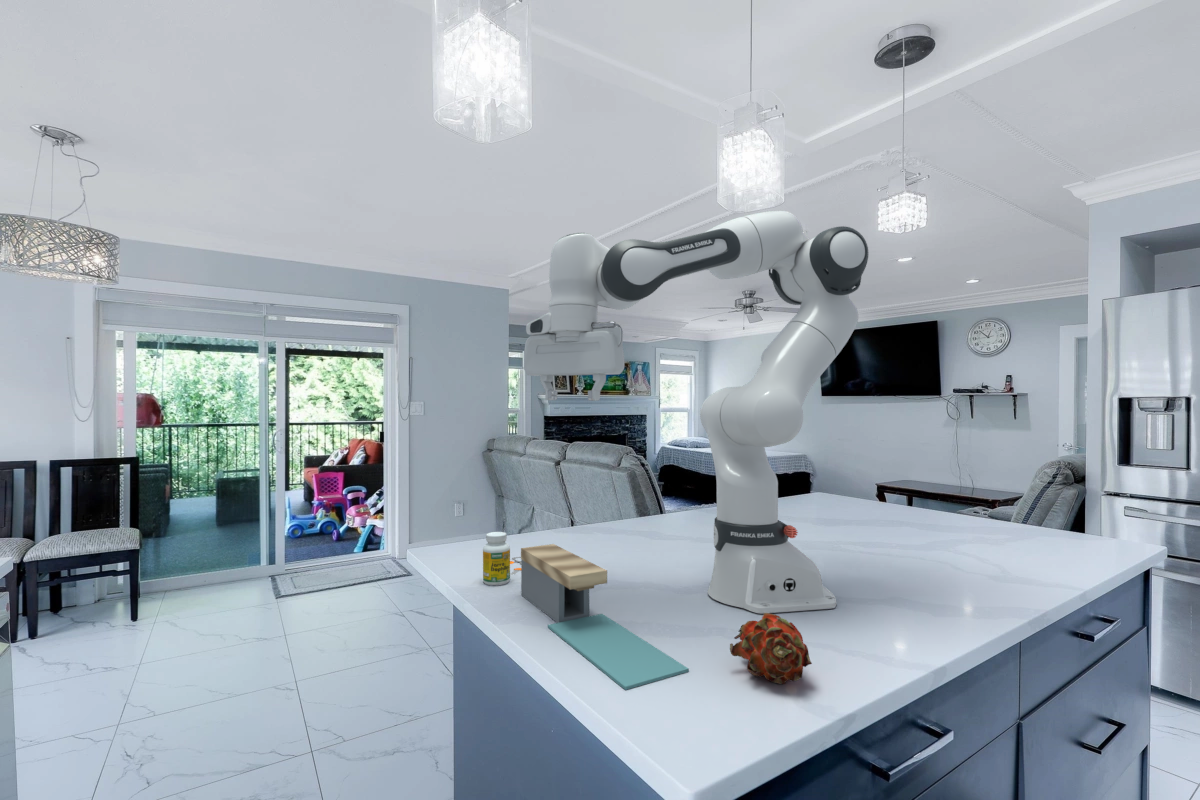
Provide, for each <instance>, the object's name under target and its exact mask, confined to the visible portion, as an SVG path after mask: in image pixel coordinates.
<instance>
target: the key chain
mask: <svg viewBox="0 0 1200 800" xmlns="http://www.w3.org/2000/svg"><path fill="white" fill-rule="evenodd" d="M516 559H517V560H516ZM518 559H521V556H516V557H512V561H511V560H510V565H513V564H515V563H519V565H521V560H518ZM518 572H521V567H516V568H514V569H513V571H512V572H510V575H512V576H513V574H514V575H516V574H517V573H518Z"/></svg>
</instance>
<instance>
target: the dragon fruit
mask: <svg viewBox="0 0 1200 800" xmlns="http://www.w3.org/2000/svg"><path fill="white" fill-rule="evenodd" d="M737 631H738V632H739V633H738V634H737V635H735V636H734V638H733V639H735V640H737V639H739V640H740V641H738V642H736V643H735V644H733V643H729V652H730V654H731V655H732V656H733V657H739V658H742V659H744V660H748V663H747V667H746V670H747V671H748V672H749V673H750V674H751V675H753V677H756V678H757V677H763V676H764V677H765V679H766V680H767V681H770V682H772V683H775V684H780V685H782V684H783V685H784V684H786V683H787V681H790V682H794V681H795V682H797V681H799V680H800V679H802V678H803V672H804V668H807V666H809V665H811V664H812V663H813V662H812V661H811V659H810V653H809V648H808V645H807V644H806V643H805V642H804V639H803V635H802V634H801V632H800V631H799V629H798V628H797V627H796V626H795V624H793V622H792V621H791V622H789V621H788V620H787V619H786V618H783V617H781V616H779V615H776V614H773V613H763V615H762V617H761V619H760V620H759V621H757V620H748V621H746V622H745V623H744V624H741V626H740V628H739V629H738V630H737Z"/></svg>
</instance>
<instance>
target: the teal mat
mask: <svg viewBox="0 0 1200 800" xmlns="http://www.w3.org/2000/svg"><path fill="white" fill-rule="evenodd" d="M547 629H549V630H550V631H551V632H553V633H554V634H555V635H557V636H558V637H559V638H560V639H562V640H563V642H564V643H566V644H567V645H569V646H570V647H571V648H572V649H573V650H575V651H577V652H578V654H580V655H581V656H582V657H584V658H585V659H586V660H587V661H588V662H589V663H591V664H592V665H594V667H596V668H597V669H598V670H599V671H601V672H602V673H603V674H605V676H607V677H608V678H610V679H611V680H612V681H614V683H616V684H617V685H618V686H619V687H621V688H622V689H623V690H625V691H627V690H631V689H634V688H636V687H637V688H638V687H640V686H644V685H647V684H650V683H655V682H658V681H662V680H666V679H668V678H671V677H672V678H673V677H675V676H678V675H679V676H680V675H681V674H686V673H688V672H690V670H689V669H690V668H688V667H687V666H685V665H684V664H682V663H681V662H679V661H678V660H677V659H674V658H672V657H671V656H669V655H668V654H666V653H665V652H664V651H662V650H661V649H659V648H657V647H656V646H654V645H653V644H651V643H649V642H648V641H646V640H644V639H642V638H641V637H640V636H639V635H636V634H635V633H634V632H632V631H630V630H628V628H625V627H624V626H623V625H621V624H619V623H617V622H616V621H614V620H613V619H611V618H610V617H608V616H607V615H605V614H603V613H599V614H594V615H589V616H588V617H583V618H579V619H574V620H569V621H564V622H559V623H557V622H555V623H550V624H547Z"/></svg>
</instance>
